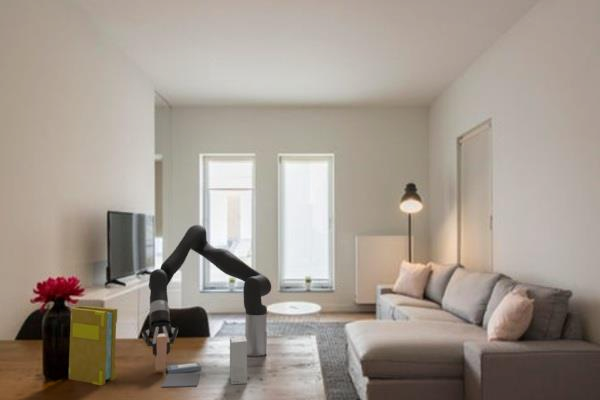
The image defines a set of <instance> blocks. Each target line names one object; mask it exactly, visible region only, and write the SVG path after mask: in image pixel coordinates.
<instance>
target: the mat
mask: <svg viewBox="0 0 600 400" xmlns="http://www.w3.org/2000/svg"><path fill="white" fill-rule="evenodd" d="M201 374H202V373H201V372H182V373H173V374H168V373H167V374H166V377H165V378H164V380H163V382H162V385H161V388H162V389H163V388H183V387H184V388H186V387H192V388H193V387H198V385H199V381H200V378H201Z"/></svg>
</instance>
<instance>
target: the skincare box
mask: <svg viewBox="0 0 600 400" xmlns="http://www.w3.org/2000/svg"><path fill="white" fill-rule="evenodd" d="M229 379H230V384H231V385H246V384H248V355H247V340H246V337H245V335H243V336H242V335H241V336H240V335H239V336H231V337H230V336H229Z"/></svg>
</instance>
